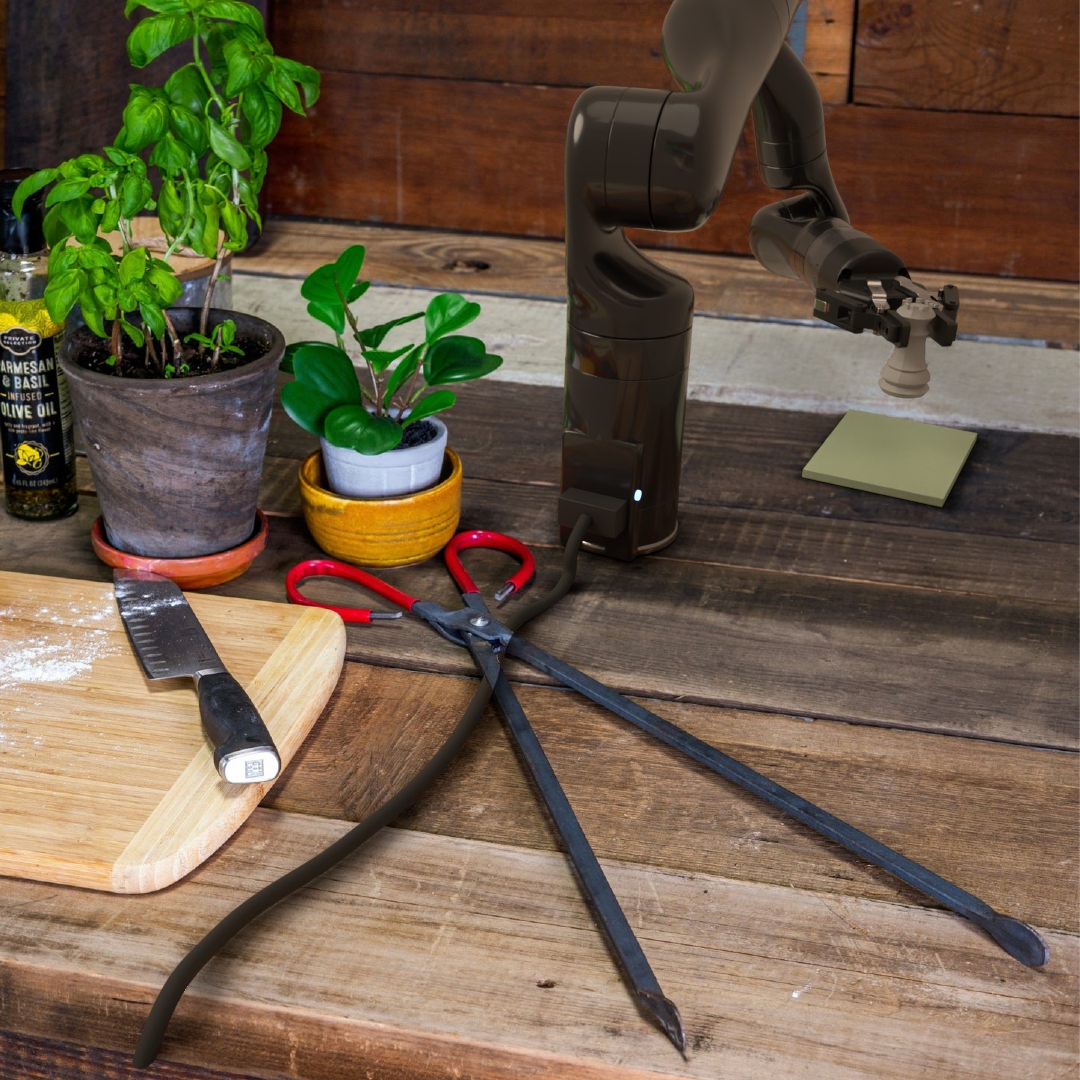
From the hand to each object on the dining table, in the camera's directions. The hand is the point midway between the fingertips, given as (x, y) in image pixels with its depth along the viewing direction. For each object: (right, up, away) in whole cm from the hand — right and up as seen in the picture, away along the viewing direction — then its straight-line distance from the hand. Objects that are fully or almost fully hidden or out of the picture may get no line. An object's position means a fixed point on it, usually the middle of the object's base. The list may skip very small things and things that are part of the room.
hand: (927, 336), depth 105 cm
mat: (-1, -10, +8) cm, 13 cm away
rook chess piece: (-1, -4, +5) cm, 7 cm away
